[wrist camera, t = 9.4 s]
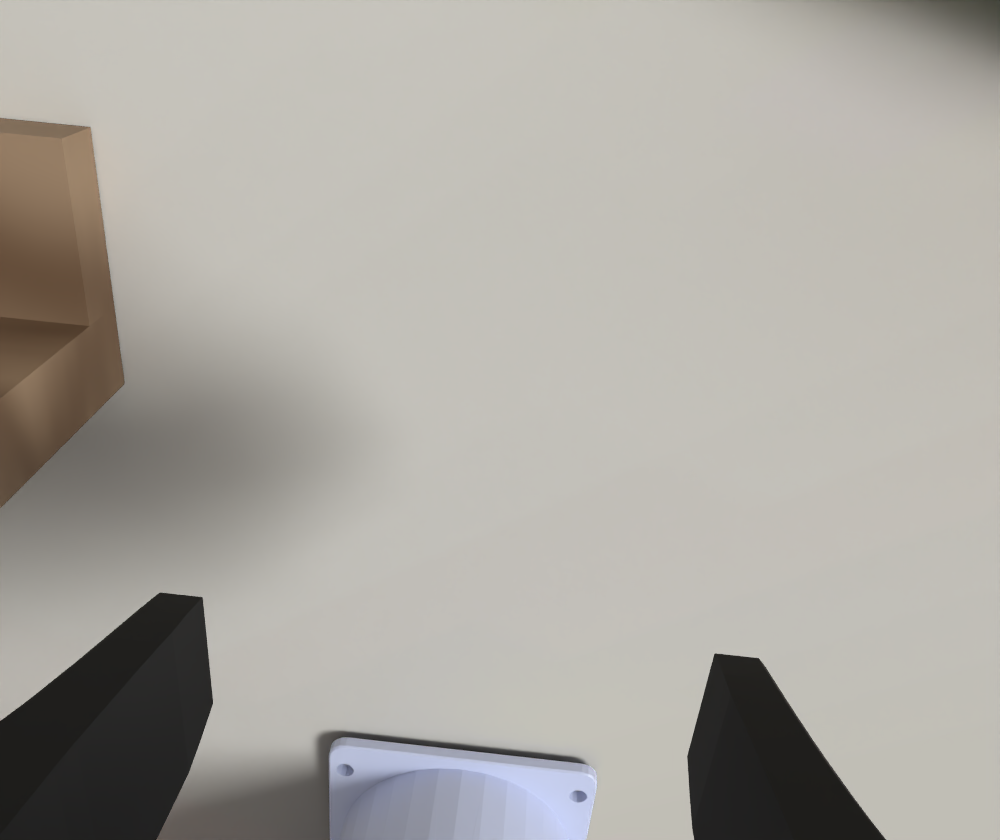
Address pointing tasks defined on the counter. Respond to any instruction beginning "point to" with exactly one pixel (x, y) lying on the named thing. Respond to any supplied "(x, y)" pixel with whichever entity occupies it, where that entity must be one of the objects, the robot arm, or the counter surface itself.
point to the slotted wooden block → (51, 296)
